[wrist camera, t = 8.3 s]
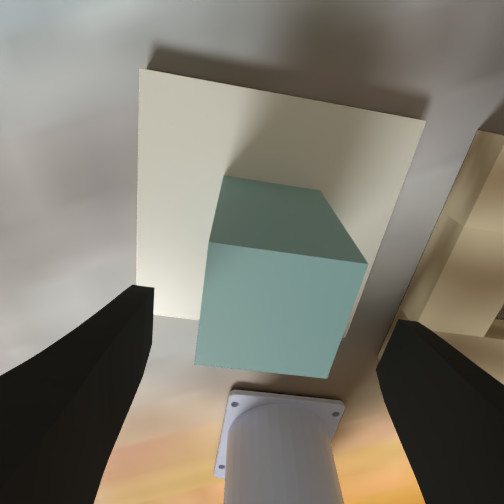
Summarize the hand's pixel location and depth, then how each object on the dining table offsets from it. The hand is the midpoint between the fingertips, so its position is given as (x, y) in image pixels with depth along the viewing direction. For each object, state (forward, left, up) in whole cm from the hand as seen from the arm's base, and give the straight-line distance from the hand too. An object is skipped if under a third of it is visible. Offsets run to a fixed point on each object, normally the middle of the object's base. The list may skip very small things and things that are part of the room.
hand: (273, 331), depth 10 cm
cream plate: (0, 0, -8) cm, 8 cm away
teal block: (0, 0, -7) cm, 7 cm away
